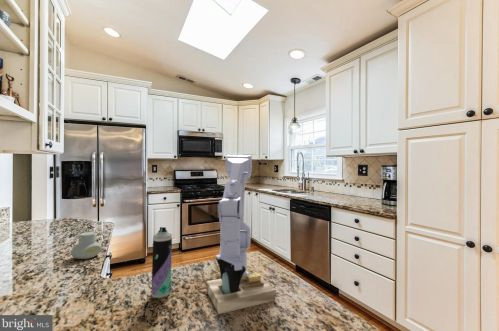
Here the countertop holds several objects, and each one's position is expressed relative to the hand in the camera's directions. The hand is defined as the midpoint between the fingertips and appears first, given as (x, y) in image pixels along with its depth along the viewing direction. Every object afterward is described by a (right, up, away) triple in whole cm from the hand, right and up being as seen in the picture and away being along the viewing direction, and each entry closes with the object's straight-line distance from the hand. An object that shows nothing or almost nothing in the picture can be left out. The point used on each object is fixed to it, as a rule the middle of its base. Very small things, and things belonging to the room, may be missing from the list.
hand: (229, 285), depth 68 cm
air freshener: (-64, -4, +32) cm, 72 cm away
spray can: (-21, -4, +3) cm, 21 cm away
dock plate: (+3, -4, +2) cm, 5 cm away
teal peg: (0, -4, 0) cm, 4 cm away
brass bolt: (+7, -1, +3) cm, 8 cm away
